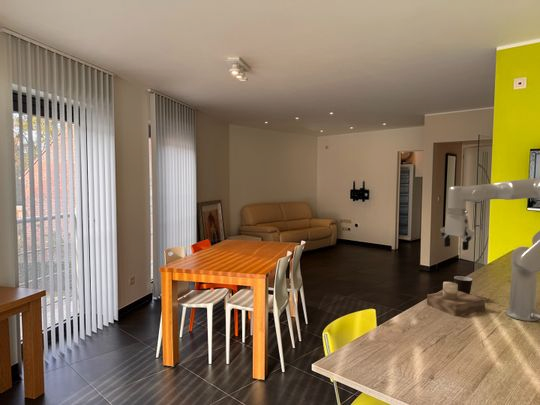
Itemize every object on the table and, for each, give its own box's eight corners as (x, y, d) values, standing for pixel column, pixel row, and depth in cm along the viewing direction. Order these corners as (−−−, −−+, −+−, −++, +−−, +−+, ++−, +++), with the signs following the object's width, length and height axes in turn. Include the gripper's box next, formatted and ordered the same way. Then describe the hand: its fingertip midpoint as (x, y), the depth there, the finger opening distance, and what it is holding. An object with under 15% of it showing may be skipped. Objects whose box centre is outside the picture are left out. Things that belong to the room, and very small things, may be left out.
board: (484, 309, 174) (485, 299, 174) (454, 315, 166) (455, 305, 165) (455, 299, 188) (455, 289, 188) (426, 304, 180) (427, 294, 180)
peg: (459, 308, 174) (461, 284, 173) (450, 310, 171) (451, 286, 170) (448, 304, 180) (449, 281, 179) (438, 305, 177) (439, 282, 176)
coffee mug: (470, 301, 186) (471, 281, 186) (451, 297, 192) (452, 278, 191) (473, 295, 196) (474, 276, 195) (456, 292, 201) (456, 274, 200)
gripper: (479, 213, 167) (478, 250, 168) (446, 210, 183) (445, 244, 184) (468, 214, 164) (467, 252, 165) (436, 211, 180) (435, 245, 181)
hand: (456, 248), depth 174 cm, fingers open, 9 cm apart
